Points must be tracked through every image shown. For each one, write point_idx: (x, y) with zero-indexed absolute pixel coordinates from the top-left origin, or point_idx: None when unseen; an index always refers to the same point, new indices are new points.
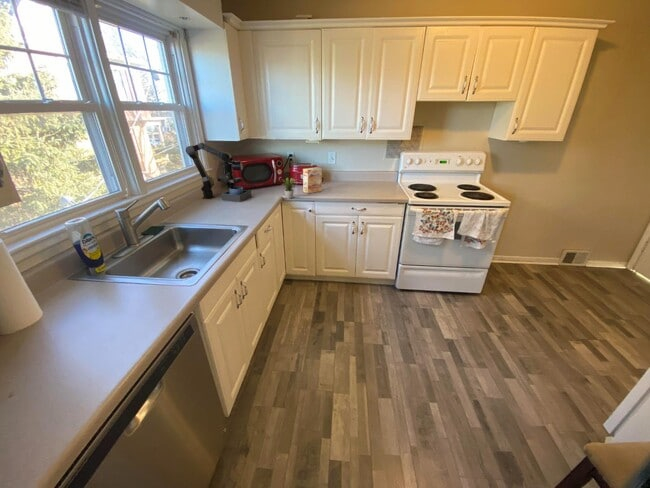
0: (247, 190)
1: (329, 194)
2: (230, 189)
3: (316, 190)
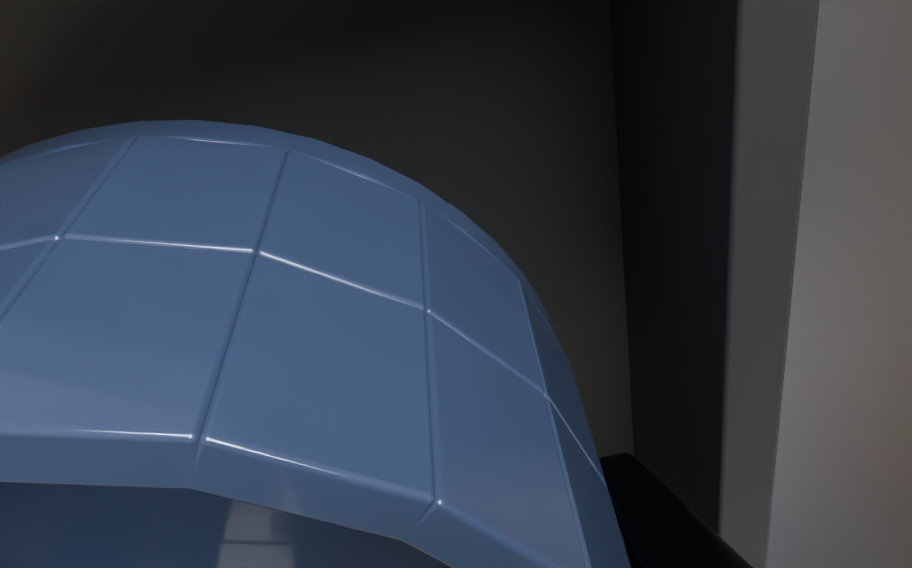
0: None
1: None
2: (137, 373)
3: None
